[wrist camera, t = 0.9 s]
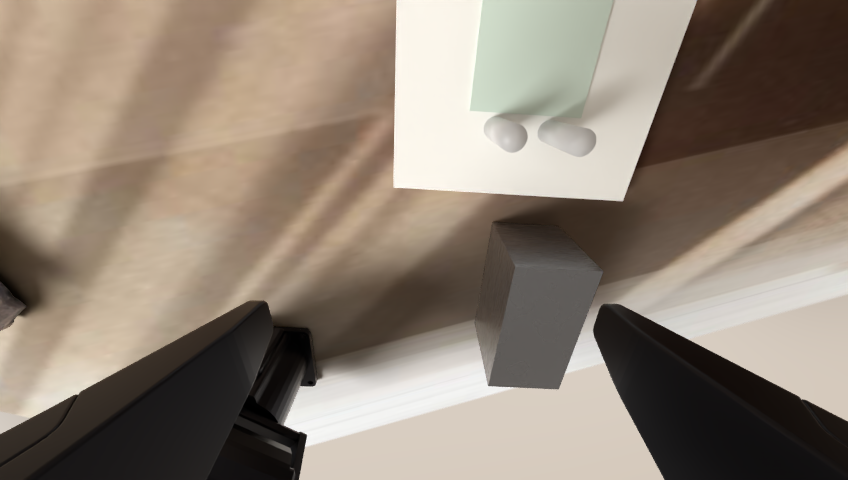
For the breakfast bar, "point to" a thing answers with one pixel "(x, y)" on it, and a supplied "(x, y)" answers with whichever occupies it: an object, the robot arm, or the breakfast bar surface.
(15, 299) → the geode
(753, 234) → the breakfast bar surface
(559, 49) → the pin tray
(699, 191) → the breakfast bar surface
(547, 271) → the block
